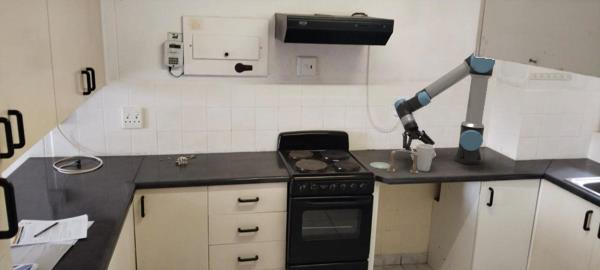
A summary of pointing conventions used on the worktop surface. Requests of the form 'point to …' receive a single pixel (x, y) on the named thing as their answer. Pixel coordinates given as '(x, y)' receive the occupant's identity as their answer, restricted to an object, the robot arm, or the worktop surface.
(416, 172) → the pull handle
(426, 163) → the foam cup
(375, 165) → the coaster
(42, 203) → the worktop surface
